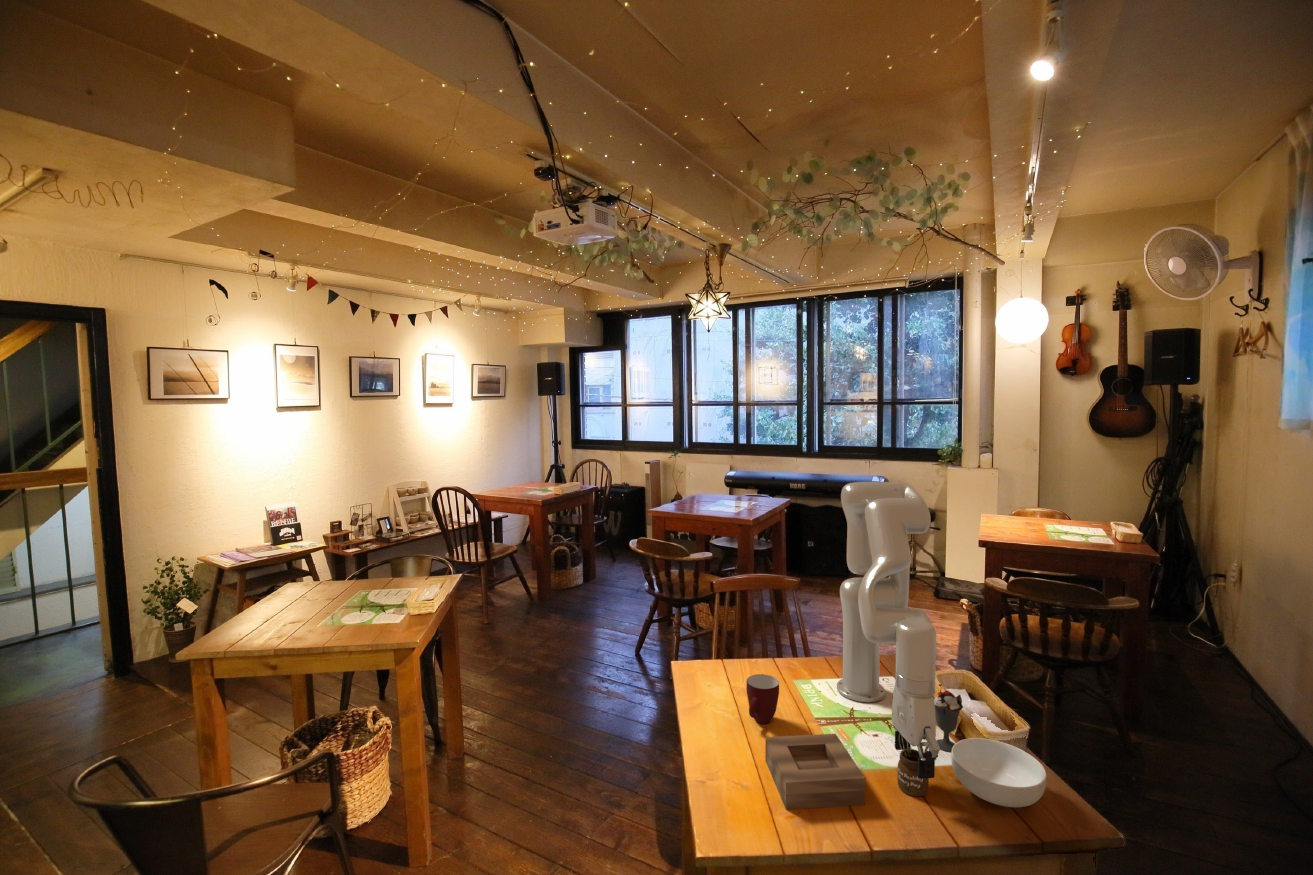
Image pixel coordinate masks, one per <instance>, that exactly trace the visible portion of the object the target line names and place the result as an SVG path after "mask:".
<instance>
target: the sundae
mask: <svg viewBox="0 0 1313 875" xmlns="http://www.w3.org/2000/svg"><path fill="white" fill-rule="evenodd" d="M938 686H939V687H940V690H939V691H938V693H937V696H934V703H935V715H936V726H938V727H939V729H940V730H941V731H942V732H943V737H942V739H941V738H938V739H936V741H937V743H938V745H939V747H940V751H943V752H948V753H951V752H952V748H953V746H954V745H955V744H956V743H955V742H953V741H952V740H950V733H952V732H954V731H955V730H956V729H957V725H958V720H959V715H960V711H961V710H963V708H964V706H963V704H962V703H963V699H962V697H961V694H958V695H955V694H954V693H952V692H951V691H950V690H947V689H946V688H945V687H944V686H943V685H942V683H941V684H938ZM942 688H943V690H944V691H942Z"/></svg>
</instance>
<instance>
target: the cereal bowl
mask: <svg viewBox="0 0 1313 875" xmlns="http://www.w3.org/2000/svg"><path fill="white" fill-rule="evenodd" d="M950 754H951V755H950V756H951V758H950V759H951V760H950V761H951V765H952V767H951V768H952V769H953V772H954V775H955V776H956V778H957V779H958V781H959V782H960V783H961V785H962V786H964V788H965V789H967V790H968V791H969V792H971V793H972V794H973V795H975V796H977V797H978V798H980V799H982V800H984V801H986V802H988V803H991V804H993V805H997V806H1000V807H1005V808H1008V807H1009V808H1026V807H1028V806H1031V805H1034V804H1035V803H1037V802H1038V801H1039V800H1040V799H1041V798H1042V796H1043V795H1044V793H1045V791H1046V787H1047V777H1048V776H1047V772H1046V771H1047V770H1046V769H1045V767H1044V766H1043V765H1042V763H1041V762H1040V761H1039V760H1038V759H1036V758H1035V757H1034V756H1033V755H1031V754H1029V753H1028V752H1026V751H1024V750H1023V749H1021V748H1018V747H1017V746H1015V745H1011V744H1009V743H1006V742H1002V741H999V740H995V739H990V738H984V737H983V738H981V737H972V738H971V737H970V738H965V739H961V740H959V741H957V742H956V743H955V745H954V746H953V748H952V752H950Z"/></svg>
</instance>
